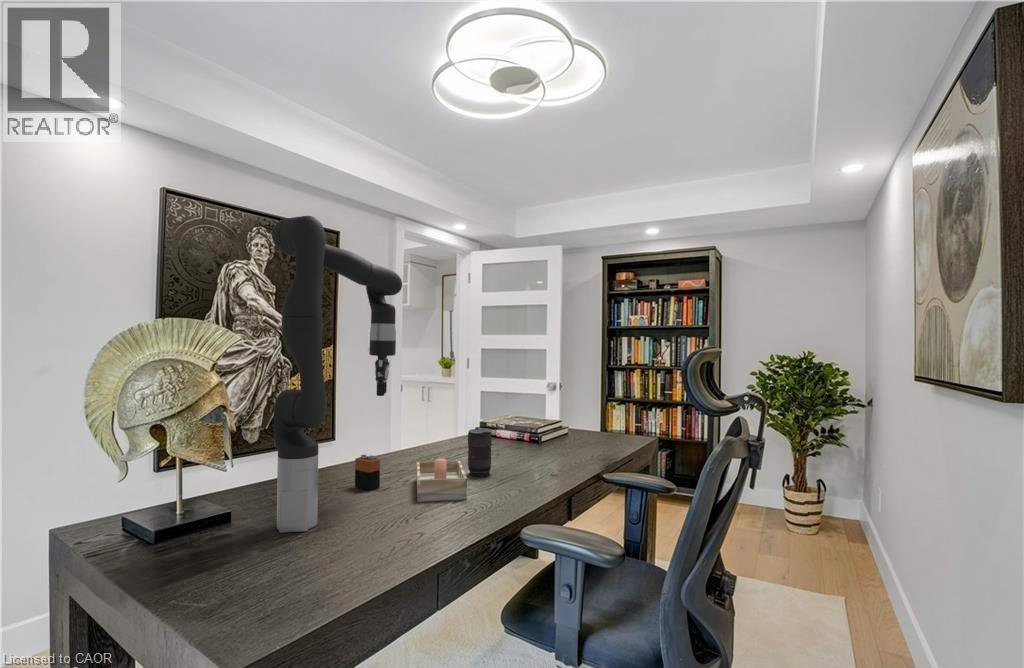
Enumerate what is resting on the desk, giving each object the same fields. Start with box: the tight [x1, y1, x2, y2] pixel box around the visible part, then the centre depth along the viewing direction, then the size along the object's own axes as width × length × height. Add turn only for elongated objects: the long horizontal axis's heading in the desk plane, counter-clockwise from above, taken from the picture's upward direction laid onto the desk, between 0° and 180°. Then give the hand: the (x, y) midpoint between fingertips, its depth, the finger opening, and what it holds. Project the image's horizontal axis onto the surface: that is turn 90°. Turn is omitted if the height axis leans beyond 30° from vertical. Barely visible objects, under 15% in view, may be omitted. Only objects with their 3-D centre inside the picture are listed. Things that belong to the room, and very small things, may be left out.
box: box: [416, 460, 468, 503], centre depth 157 cm, size 22×14×6 cm, turn 11°
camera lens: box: [467, 428, 493, 478], centre depth 174 cm, size 8×8×15 cm
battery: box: [354, 454, 381, 492], centre depth 158 cm, size 4×7×10 cm, turn 58°
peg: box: [434, 458, 447, 479], centre depth 157 cm, size 4×4×9 cm
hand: (381, 394), depth 151 cm, fingers open, 8 cm apart
